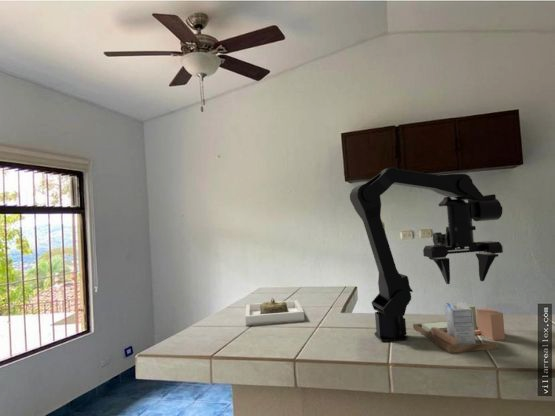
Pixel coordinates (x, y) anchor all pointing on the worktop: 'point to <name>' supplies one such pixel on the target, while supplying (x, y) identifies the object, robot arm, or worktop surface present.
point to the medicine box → (460, 322)
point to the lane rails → (453, 348)
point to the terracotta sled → (479, 327)
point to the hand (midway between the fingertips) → (464, 282)
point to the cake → (273, 307)
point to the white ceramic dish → (274, 314)
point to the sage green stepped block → (444, 324)
